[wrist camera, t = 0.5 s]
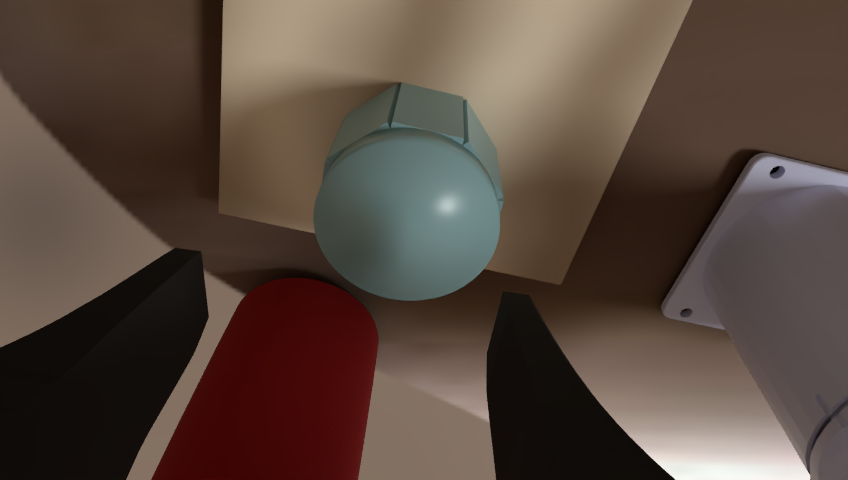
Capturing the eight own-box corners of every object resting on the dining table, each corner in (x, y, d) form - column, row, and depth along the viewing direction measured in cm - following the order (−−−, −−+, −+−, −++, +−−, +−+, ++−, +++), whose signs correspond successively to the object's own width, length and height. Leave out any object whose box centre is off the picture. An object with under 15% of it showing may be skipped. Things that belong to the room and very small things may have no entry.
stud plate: (804, -287, 14) (918, -337, 11) (556, 267, 24) (573, 335, 21) (250, -460, 13) (176, -581, 9) (228, 197, 23) (188, 257, 19)
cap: (511, 108, 19) (525, 167, 15) (468, 239, 22) (471, 315, 18) (351, 70, 19) (325, 121, 15) (330, 209, 22) (304, 281, 18)
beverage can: (238, 361, 28) (120, 632, 18) (238, 253, 24) (88, 520, 14) (371, 382, 29) (327, 658, 19) (390, 279, 25) (348, 556, 15)
